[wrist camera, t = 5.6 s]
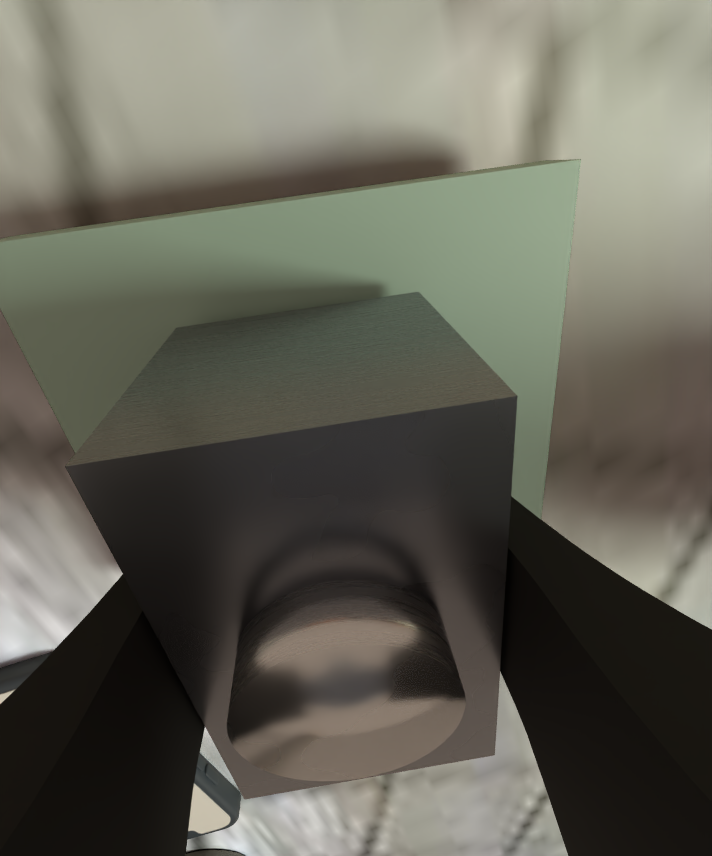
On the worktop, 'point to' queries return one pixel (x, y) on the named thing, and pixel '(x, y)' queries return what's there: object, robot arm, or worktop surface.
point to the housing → (318, 535)
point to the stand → (307, 283)
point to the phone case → (211, 789)
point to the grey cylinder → (214, 853)
